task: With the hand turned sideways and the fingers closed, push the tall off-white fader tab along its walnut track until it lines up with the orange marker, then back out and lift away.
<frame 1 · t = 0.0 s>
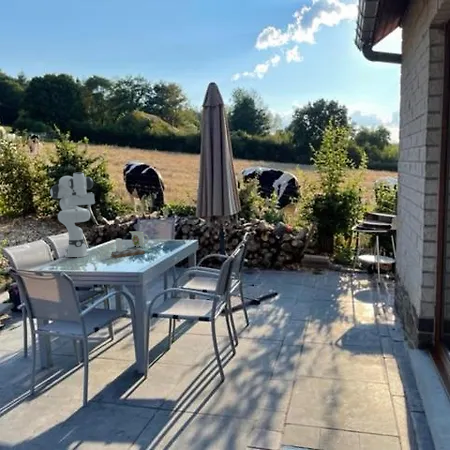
hand: (82, 210, 362), 39 cm above the table, tool pointing down, fingers open, 8 cm apart
fader tab: (119, 246, 379), point 8 cm above the table, slide at 0.0 cm
pitcher: (139, 246, 424), on the table
fader track: (128, 254, 383), on the table
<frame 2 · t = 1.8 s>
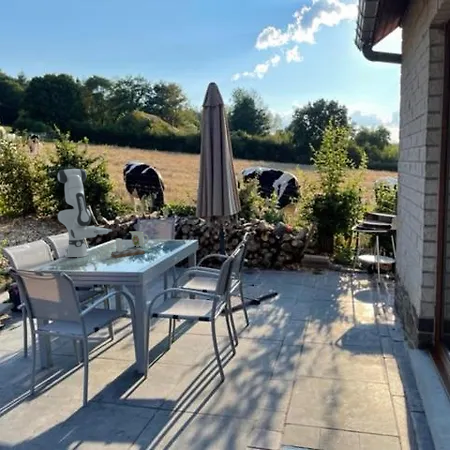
hand: (109, 229, 373), 22 cm above the table, tool horizontal, fingers open, 7 cm apart
nothing on the table moved.
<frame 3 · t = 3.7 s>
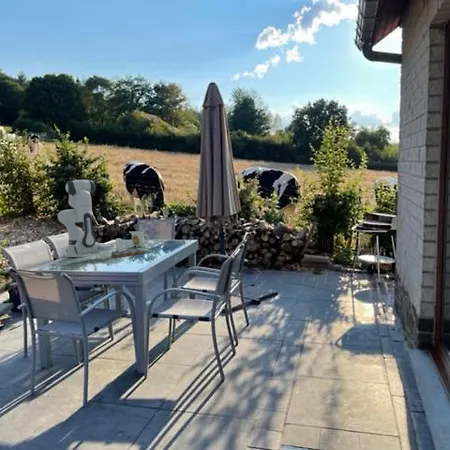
hand: (112, 245, 375), 9 cm above the table, tool horizontal, fingers closed
nothing on the table moved.
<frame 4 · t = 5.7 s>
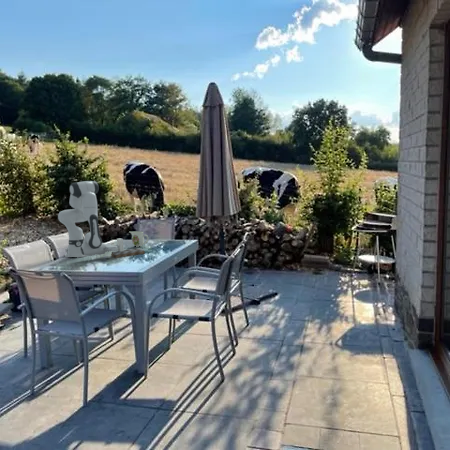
hand: (118, 246, 378), 8 cm above the table, tool horizontal, fingers closed, pressing on fader tab
fader tab: (120, 246, 379), point 8 cm above the table, slide at 0.8 cm, touching gripper
everything else where it was.
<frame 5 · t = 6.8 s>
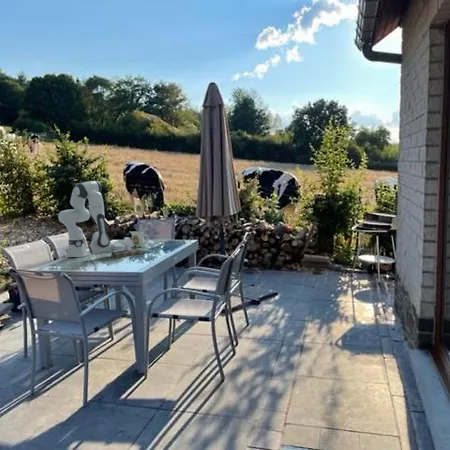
hand: (126, 245, 382), 8 cm above the table, tool horizontal, fingers closed, pressing on fader tab
fader tab: (127, 245, 383), point 8 cm above the table, slide at 7.3 cm, touching gripper
everything else where it was.
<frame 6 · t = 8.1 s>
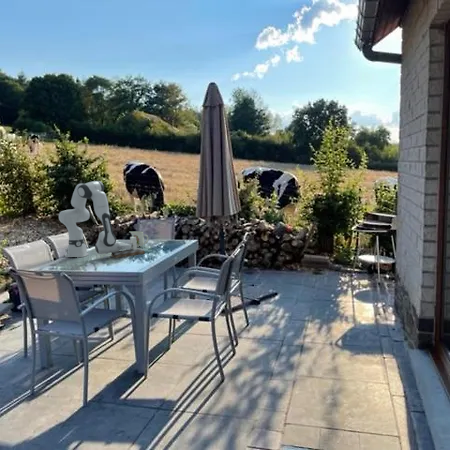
hand: (131, 244, 384), 8 cm above the table, tool horizontal, fingers closed, pressing on fader tab
fader tab: (133, 244, 385), point 8 cm above the table, slide at 12.3 cm, touching gripper
everything else where it was.
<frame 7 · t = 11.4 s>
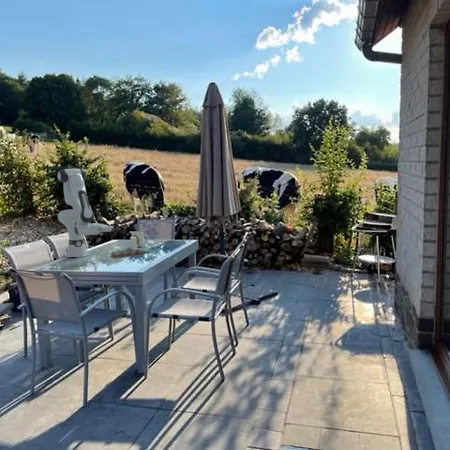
hand: (113, 226, 375), 24 cm above the table, tool horizontal, fingers closed
fader tab: (133, 244, 385), point 8 cm above the table, slide at 12.4 cm
everything else where it was.
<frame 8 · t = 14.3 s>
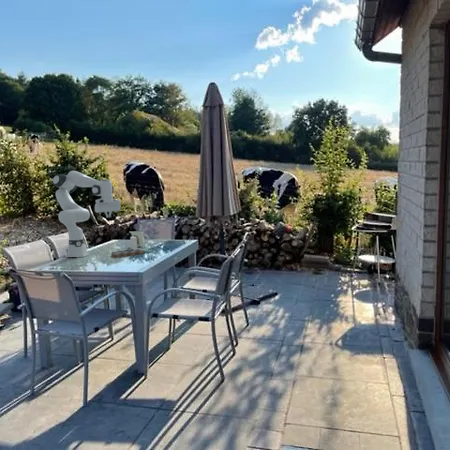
hand: (108, 217, 373), 32 cm above the table, tool pointing down, fingers closed
nothing on the table moved.
at the end: fader tab slide at 12.4 cm; pitcher moved 0.2 cm from its start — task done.
